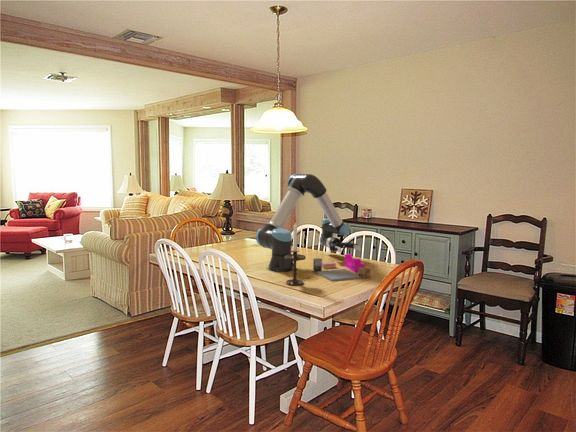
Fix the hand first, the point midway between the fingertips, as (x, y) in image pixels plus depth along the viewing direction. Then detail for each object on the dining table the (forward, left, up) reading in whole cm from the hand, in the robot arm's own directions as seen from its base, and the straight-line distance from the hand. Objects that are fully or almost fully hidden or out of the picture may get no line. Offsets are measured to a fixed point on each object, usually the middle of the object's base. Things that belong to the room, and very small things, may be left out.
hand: (350, 249), depth 260 cm
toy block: (-3, -10, -10) cm, 15 cm away
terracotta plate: (-17, -2, -10) cm, 19 cm away
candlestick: (-50, -28, -10) cm, 58 cm away
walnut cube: (-8, -29, -10) cm, 32 cm away
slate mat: (-21, -22, -10) cm, 31 cm away
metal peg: (-27, -8, -10) cm, 29 cm away
